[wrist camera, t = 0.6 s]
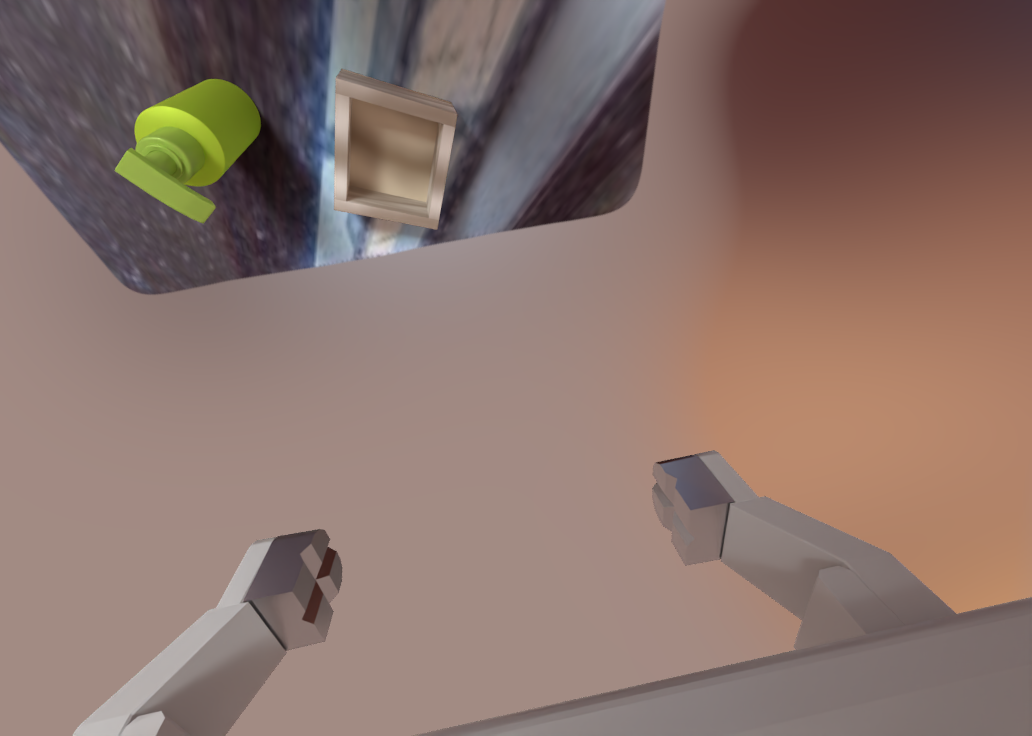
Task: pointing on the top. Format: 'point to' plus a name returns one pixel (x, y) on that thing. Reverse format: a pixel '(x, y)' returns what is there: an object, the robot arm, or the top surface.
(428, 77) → the top surface
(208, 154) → the soap dispenser
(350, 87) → the box
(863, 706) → the robot arm
